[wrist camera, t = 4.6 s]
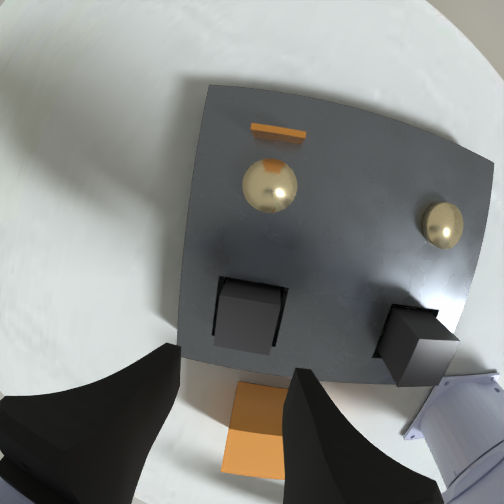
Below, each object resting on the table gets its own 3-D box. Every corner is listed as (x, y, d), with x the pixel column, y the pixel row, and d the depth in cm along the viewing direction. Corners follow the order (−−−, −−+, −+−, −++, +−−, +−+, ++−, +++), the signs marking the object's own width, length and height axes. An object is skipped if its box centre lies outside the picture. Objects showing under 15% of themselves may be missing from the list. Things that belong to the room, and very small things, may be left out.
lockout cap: (313, 391, 20) (320, 438, 15) (294, 436, 21) (296, 480, 16) (238, 381, 20) (228, 428, 15) (229, 428, 21) (220, 471, 16)
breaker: (429, 311, 15) (460, 341, 12) (413, 351, 16) (438, 385, 12) (392, 307, 16) (419, 338, 12) (376, 349, 16) (397, 386, 12)
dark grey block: (279, 279, 18) (280, 305, 14) (270, 321, 18) (269, 355, 14) (231, 270, 18) (219, 294, 14) (225, 314, 18) (213, 345, 15)
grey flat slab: (473, 163, 15) (513, 162, 10) (416, 366, 19) (439, 399, 14) (218, 97, 15) (200, 71, 11) (186, 336, 19) (166, 373, 15)
